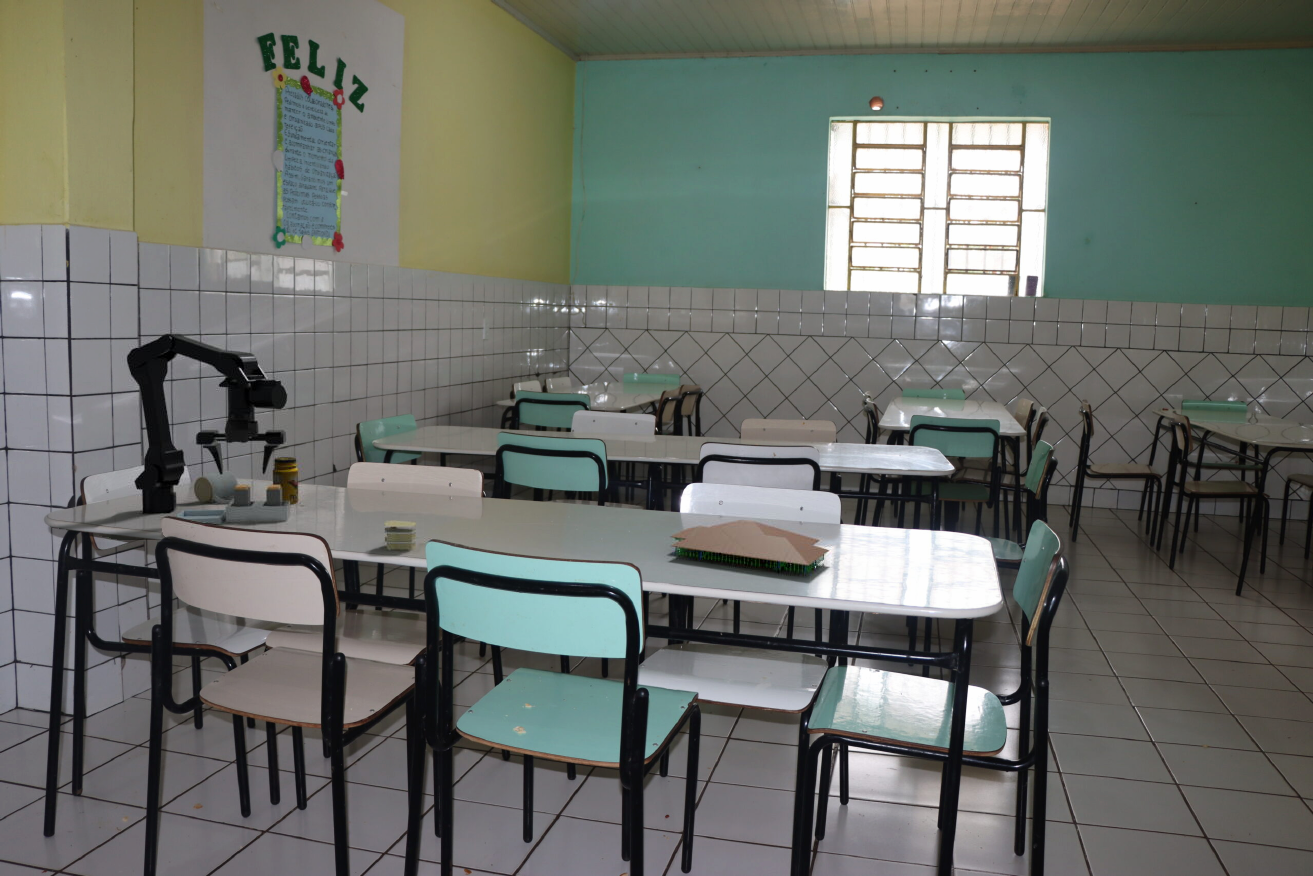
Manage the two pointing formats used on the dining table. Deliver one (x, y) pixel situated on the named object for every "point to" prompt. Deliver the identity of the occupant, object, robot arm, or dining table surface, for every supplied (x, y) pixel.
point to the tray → (204, 515)
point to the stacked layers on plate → (400, 535)
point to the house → (751, 543)
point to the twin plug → (274, 495)
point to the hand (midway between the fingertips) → (242, 474)
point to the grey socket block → (257, 512)
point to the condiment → (286, 478)
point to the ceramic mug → (216, 488)
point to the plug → (242, 495)
